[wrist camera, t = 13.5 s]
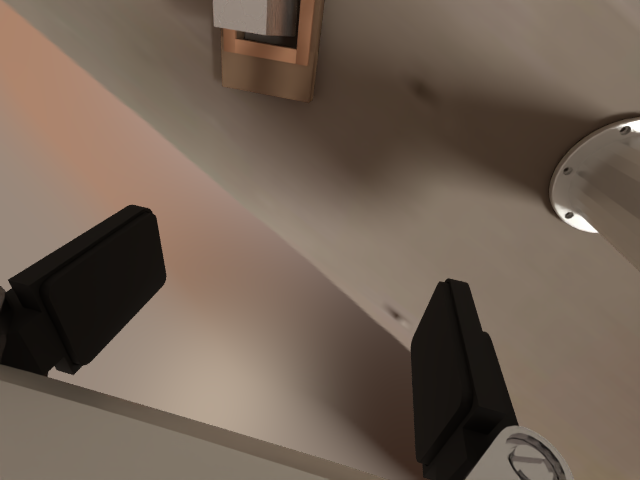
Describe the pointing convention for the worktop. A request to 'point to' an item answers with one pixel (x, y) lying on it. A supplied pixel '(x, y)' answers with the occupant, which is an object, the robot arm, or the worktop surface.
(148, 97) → the worktop surface
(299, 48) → the tan flat board
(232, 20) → the grey square block
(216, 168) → the worktop surface
